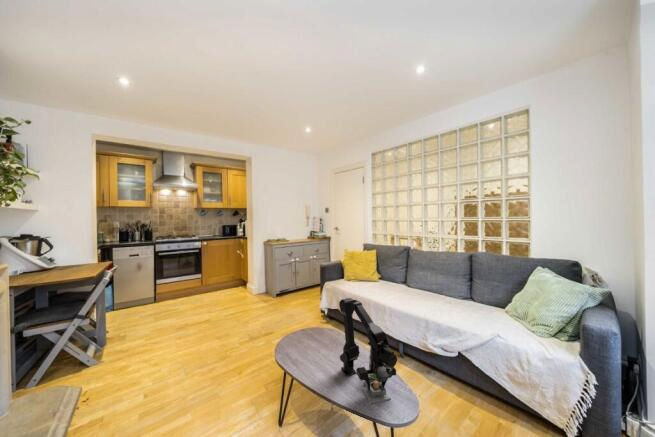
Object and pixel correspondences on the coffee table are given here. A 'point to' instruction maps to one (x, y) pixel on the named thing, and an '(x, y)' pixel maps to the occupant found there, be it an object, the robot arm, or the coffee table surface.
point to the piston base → (378, 398)
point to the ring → (378, 392)
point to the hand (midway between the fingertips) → (375, 388)
